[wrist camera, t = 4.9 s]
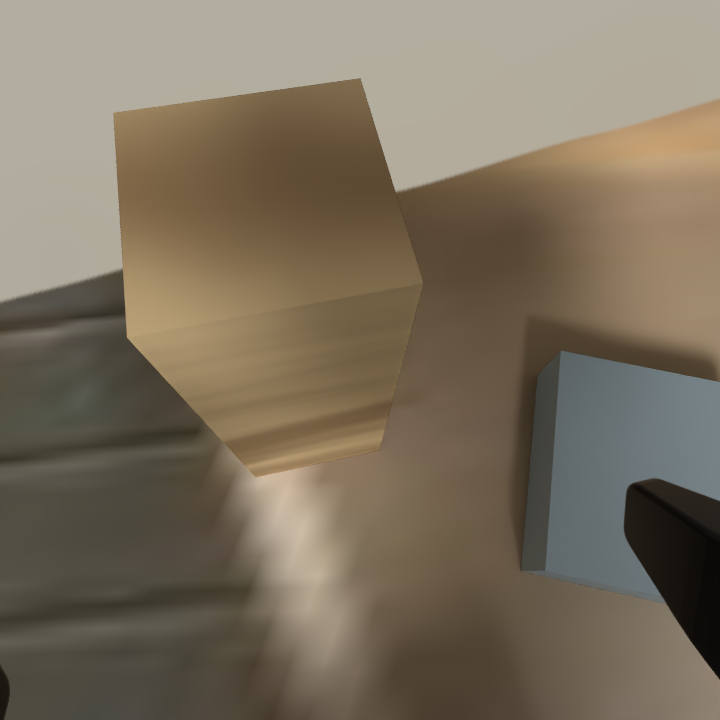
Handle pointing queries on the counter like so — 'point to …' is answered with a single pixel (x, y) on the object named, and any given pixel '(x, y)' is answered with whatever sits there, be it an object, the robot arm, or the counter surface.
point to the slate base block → (610, 463)
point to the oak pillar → (269, 268)
